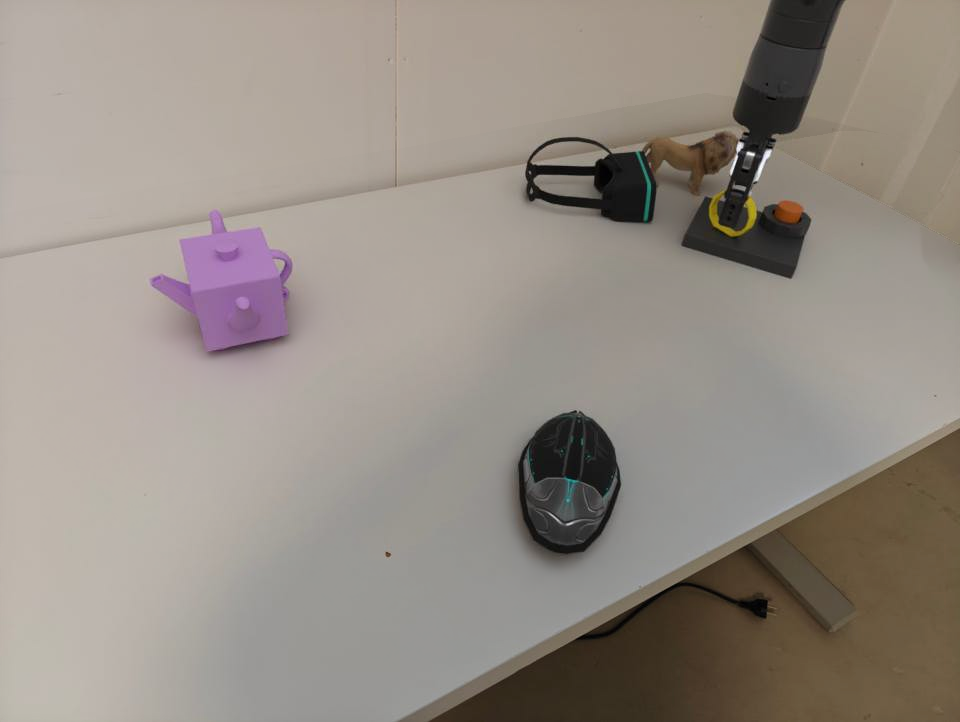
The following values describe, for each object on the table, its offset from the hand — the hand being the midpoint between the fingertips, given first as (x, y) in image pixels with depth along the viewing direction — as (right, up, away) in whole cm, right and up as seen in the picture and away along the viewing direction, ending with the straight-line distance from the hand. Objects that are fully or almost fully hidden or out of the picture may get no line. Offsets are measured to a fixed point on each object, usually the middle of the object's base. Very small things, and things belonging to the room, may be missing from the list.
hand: (733, 211), depth 87 cm
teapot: (-58, -16, -16) cm, 62 cm away
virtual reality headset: (-18, +3, +10) cm, 20 cm away
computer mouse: (-25, -30, -28) cm, 48 cm away
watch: (0, -2, +2) cm, 3 cm away
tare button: (+8, 0, +4) cm, 9 cm away
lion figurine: (-3, +7, +16) cm, 17 cm away
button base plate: (+3, -3, +4) cm, 6 cm away
